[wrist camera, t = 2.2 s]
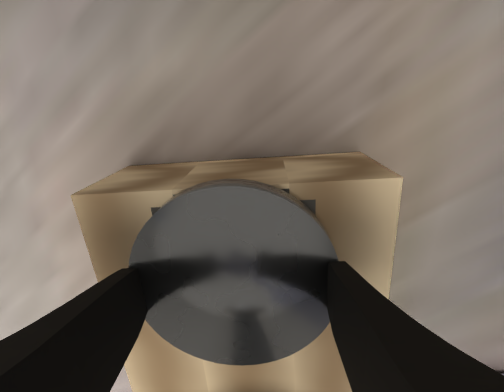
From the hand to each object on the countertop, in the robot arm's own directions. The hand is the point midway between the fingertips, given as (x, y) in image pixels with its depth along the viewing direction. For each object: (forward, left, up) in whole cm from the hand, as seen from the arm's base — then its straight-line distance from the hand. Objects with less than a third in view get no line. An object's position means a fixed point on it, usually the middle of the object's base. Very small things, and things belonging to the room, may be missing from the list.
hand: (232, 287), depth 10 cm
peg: (0, 0, -5) cm, 5 cm away
